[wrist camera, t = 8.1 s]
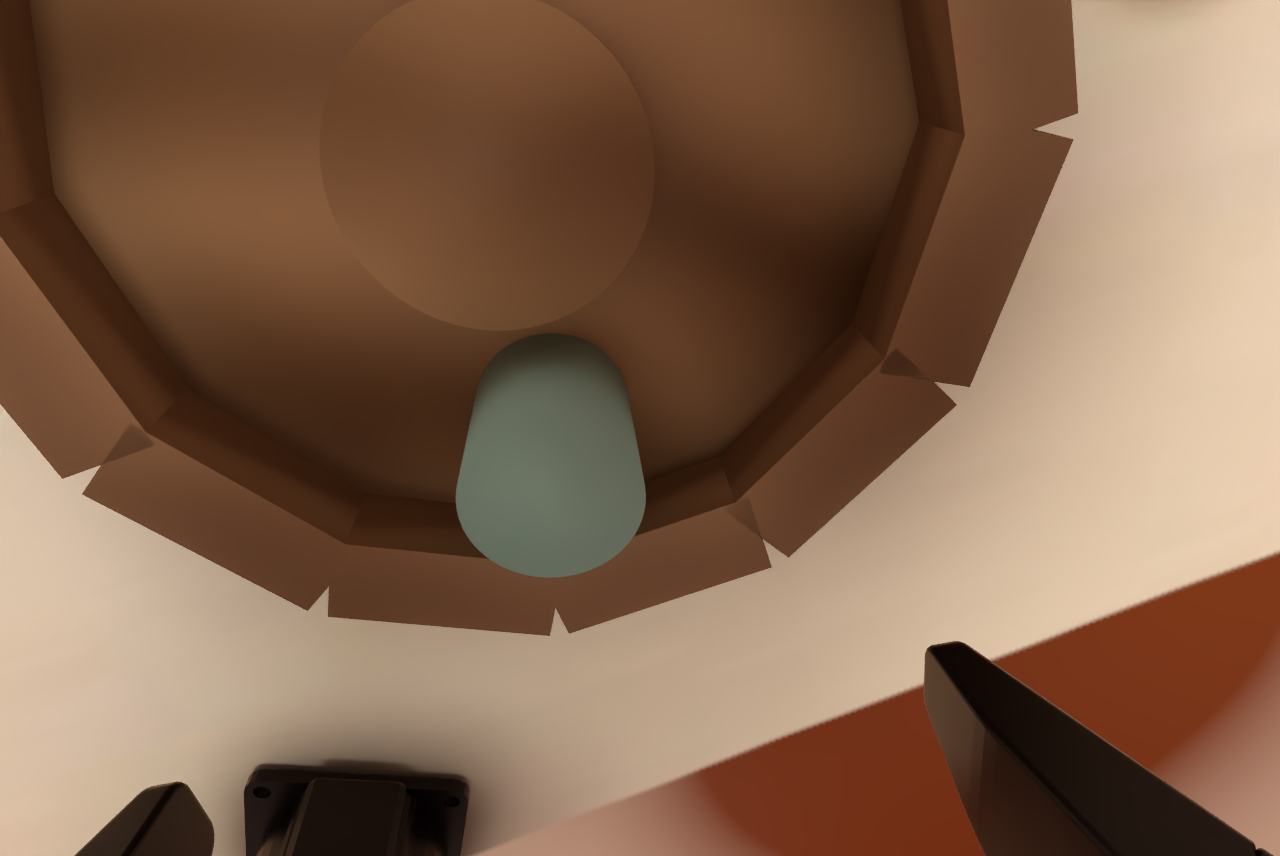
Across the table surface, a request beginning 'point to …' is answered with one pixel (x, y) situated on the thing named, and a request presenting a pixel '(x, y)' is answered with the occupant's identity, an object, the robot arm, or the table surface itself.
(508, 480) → the bead
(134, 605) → the table surface
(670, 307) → the groove tray
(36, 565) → the table surface
